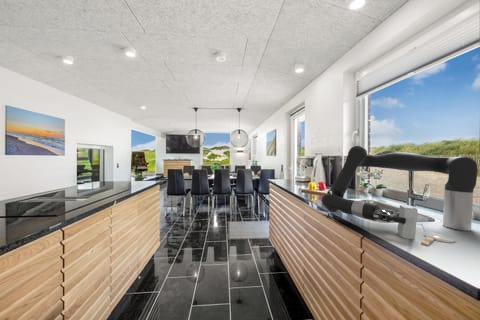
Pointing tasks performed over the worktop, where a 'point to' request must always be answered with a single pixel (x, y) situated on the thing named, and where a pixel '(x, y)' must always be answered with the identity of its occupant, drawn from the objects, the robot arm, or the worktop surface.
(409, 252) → the worktop surface
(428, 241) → the wooden slat
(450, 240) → the white shallow dome
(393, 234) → the worktop surface
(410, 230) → the skincare box
